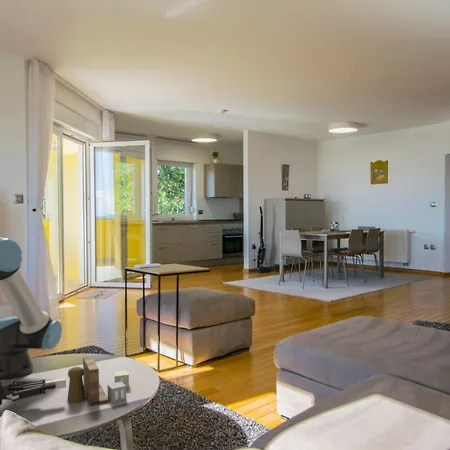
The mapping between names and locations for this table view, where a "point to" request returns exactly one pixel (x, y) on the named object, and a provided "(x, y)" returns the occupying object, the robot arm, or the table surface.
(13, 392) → the robot arm
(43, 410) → the table surface
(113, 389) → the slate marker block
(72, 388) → the cork
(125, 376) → the sage marker block
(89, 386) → the backstop board
